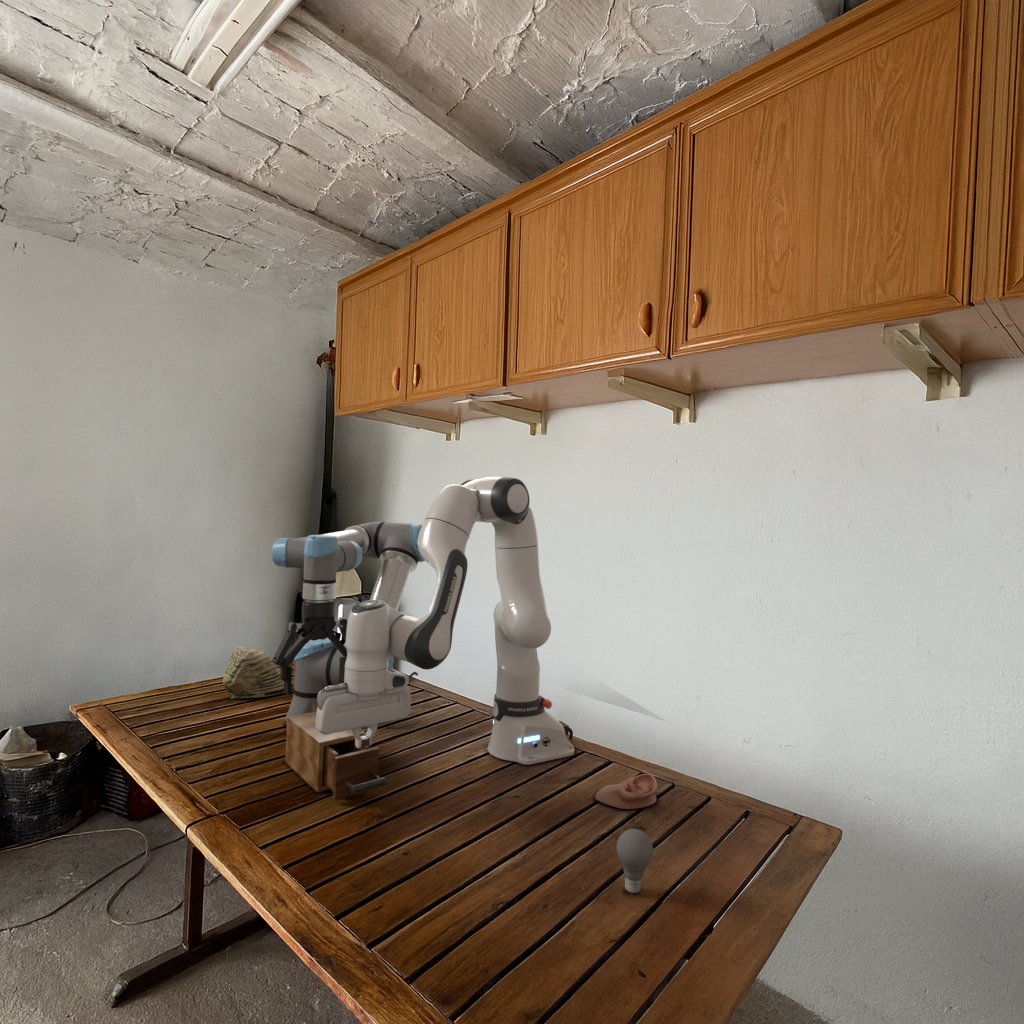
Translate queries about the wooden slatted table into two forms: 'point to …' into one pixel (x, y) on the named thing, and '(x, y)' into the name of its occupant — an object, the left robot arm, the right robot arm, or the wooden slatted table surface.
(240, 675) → the fossil
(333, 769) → the drawer
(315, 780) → the cabinet
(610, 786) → the anatomical model
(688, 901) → the wooden slatted table surface
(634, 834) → the light bulb
